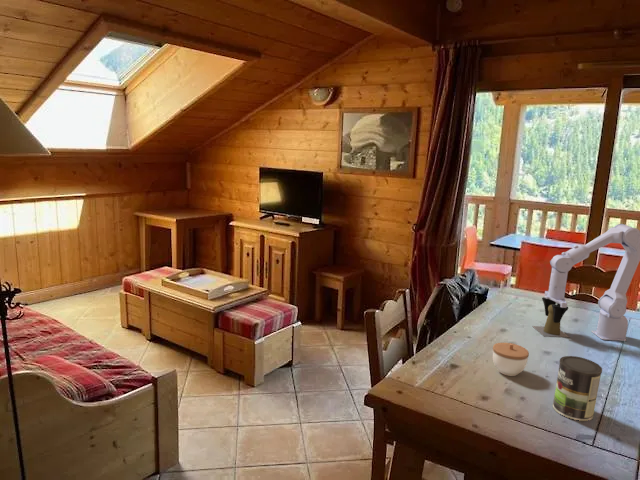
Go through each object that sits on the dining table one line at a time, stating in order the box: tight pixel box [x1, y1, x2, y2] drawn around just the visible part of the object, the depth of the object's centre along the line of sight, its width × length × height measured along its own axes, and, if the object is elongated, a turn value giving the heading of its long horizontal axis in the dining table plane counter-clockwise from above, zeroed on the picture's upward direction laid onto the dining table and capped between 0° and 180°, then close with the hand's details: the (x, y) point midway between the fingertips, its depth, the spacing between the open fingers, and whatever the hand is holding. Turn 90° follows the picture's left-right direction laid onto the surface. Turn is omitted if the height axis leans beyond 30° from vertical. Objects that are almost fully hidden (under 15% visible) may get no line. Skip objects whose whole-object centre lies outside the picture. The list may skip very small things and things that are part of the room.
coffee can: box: [552, 355, 603, 422], centre depth 131 cm, size 10×10×14 cm
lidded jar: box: [492, 342, 530, 377], centre depth 153 cm, size 11×11×9 cm
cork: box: [544, 304, 561, 335], centre depth 188 cm, size 6×6×11 cm
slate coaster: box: [532, 325, 570, 338], centre depth 190 cm, size 10×10×1 cm
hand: (552, 319), depth 188 cm, fingers open, 6 cm apart
